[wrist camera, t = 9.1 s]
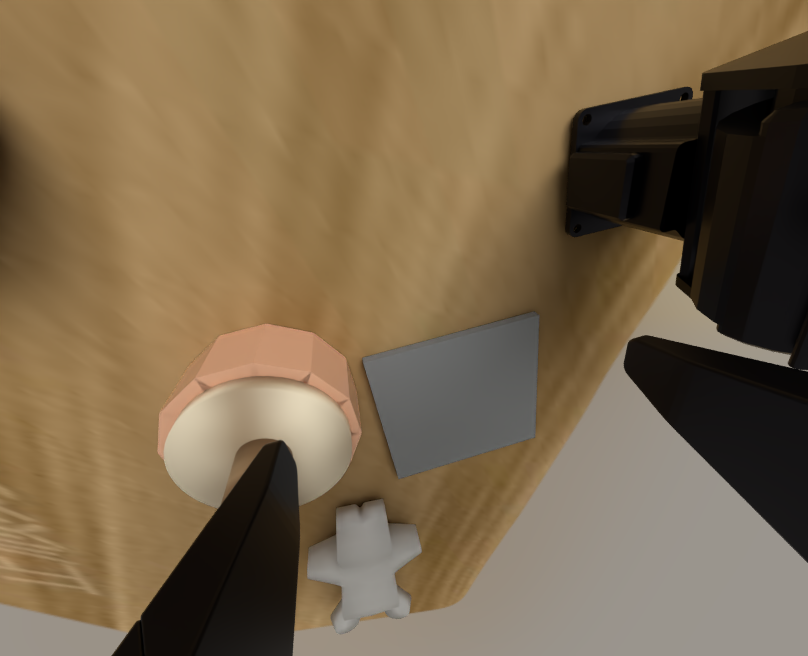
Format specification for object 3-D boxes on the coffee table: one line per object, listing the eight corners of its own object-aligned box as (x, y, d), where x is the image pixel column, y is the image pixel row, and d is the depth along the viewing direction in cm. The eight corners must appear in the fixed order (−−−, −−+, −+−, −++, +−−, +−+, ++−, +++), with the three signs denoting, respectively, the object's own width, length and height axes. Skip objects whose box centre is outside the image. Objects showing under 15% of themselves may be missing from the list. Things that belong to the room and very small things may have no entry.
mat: (534, 311, 22) (539, 315, 22) (531, 432, 28) (535, 437, 28) (362, 357, 21) (363, 363, 21) (397, 472, 27) (398, 479, 27)
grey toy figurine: (425, 525, 25) (426, 637, 31) (410, 474, 30) (414, 579, 35) (296, 554, 23) (323, 666, 29) (302, 494, 28) (324, 601, 34)
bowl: (329, 307, 19) (329, 342, 16) (369, 426, 24) (375, 472, 21) (152, 352, 18) (112, 399, 15) (232, 466, 23) (215, 520, 20)
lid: (322, 354, 16) (321, 431, 12) (367, 470, 21) (378, 555, 16) (132, 407, 15) (56, 508, 11) (222, 514, 20) (194, 616, 16)
